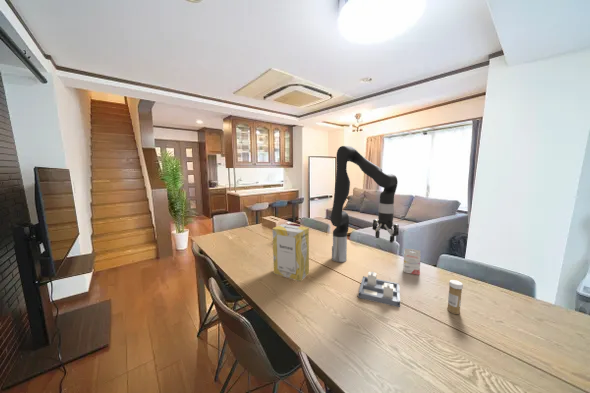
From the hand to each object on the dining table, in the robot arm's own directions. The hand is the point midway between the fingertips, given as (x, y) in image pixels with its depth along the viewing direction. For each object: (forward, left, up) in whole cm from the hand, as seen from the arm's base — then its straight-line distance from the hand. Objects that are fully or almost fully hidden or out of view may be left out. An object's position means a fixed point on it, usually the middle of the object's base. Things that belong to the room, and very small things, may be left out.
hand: (384, 240), depth 117 cm
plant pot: (-74, +37, -23) cm, 86 cm away
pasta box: (-50, -16, -23) cm, 57 cm away
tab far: (-5, -12, -21) cm, 24 cm away
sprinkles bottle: (+29, -18, -23) cm, 41 cm away
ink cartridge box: (+15, +14, -23) cm, 31 cm away
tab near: (+3, -20, -21) cm, 29 cm away
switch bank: (-1, -16, -22) cm, 27 cm away
